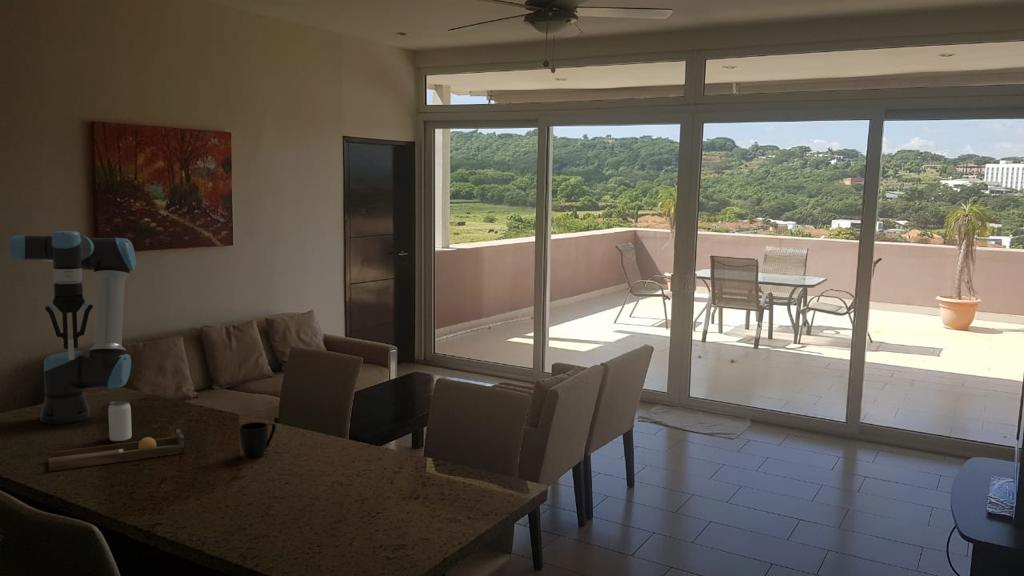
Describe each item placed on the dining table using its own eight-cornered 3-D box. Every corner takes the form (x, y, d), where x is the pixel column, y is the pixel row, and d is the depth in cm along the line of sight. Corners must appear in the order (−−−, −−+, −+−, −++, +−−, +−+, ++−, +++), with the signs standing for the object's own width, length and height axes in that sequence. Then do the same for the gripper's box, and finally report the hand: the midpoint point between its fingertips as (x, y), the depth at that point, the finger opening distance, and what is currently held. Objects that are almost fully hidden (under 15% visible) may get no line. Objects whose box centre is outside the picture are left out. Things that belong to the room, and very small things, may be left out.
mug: (283, 452, 245) (283, 422, 244) (251, 462, 235) (250, 431, 234) (267, 446, 250) (266, 417, 248) (234, 456, 240) (233, 426, 239)
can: (125, 442, 251) (124, 405, 249) (105, 441, 251) (104, 405, 250) (135, 436, 257) (134, 400, 256) (115, 435, 257) (114, 399, 256)
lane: (48, 460, 232) (48, 444, 231) (179, 444, 250) (179, 428, 250) (48, 471, 223) (48, 454, 223) (184, 453, 242) (184, 437, 241)
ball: (148, 431, 241) (157, 443, 244) (133, 442, 239) (143, 454, 242) (151, 436, 237) (161, 448, 240) (136, 447, 235) (146, 459, 238)
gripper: (43, 284, 231) (46, 363, 233) (93, 282, 237) (96, 359, 240) (43, 281, 237) (46, 358, 240) (92, 280, 244) (94, 354, 246)
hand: (71, 358), depth 240 cm, fingers closed
